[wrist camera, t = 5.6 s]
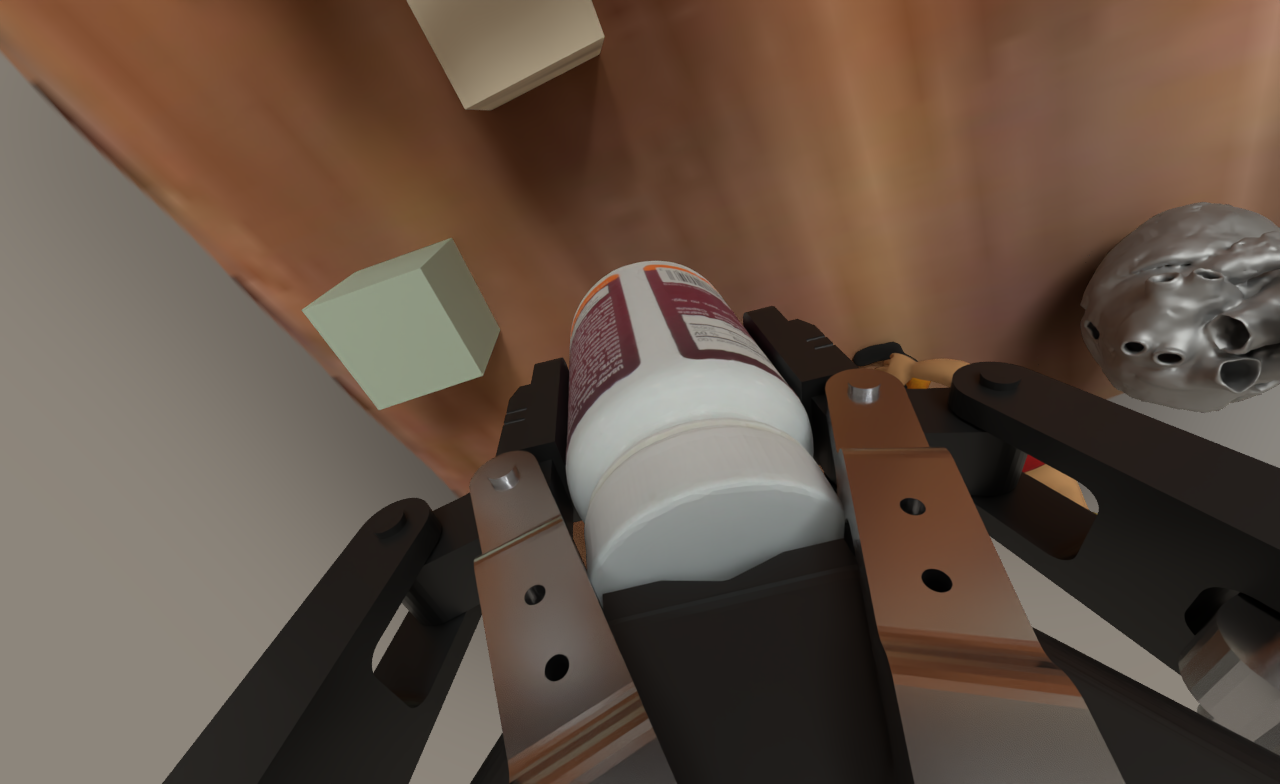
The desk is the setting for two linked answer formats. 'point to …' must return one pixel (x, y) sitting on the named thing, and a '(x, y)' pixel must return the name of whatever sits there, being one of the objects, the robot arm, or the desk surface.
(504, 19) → the birch block
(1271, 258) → the heart
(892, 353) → the action figure
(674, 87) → the desk surface
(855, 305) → the desk surface
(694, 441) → the pill bottle
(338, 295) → the sage block
